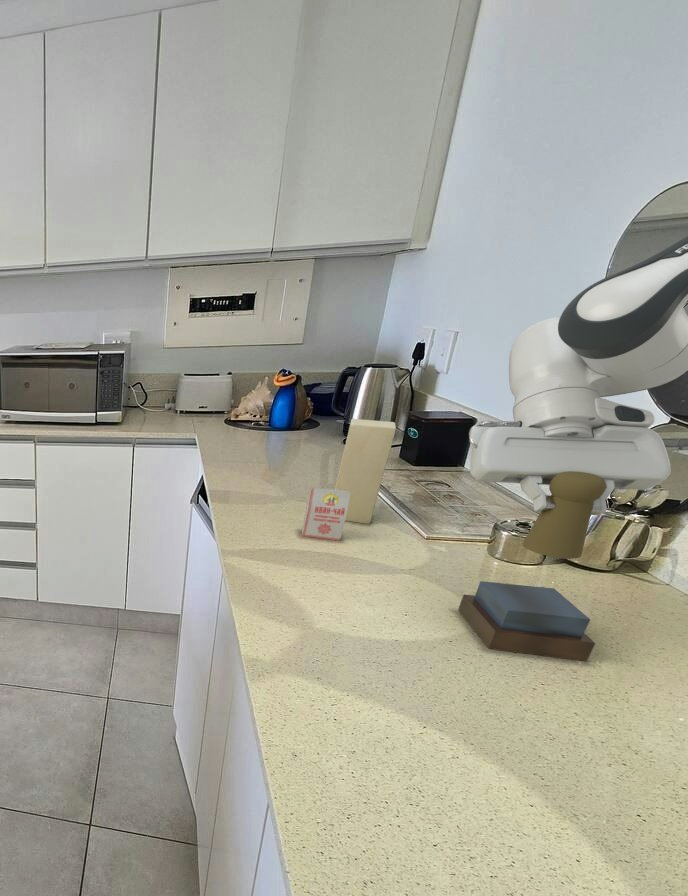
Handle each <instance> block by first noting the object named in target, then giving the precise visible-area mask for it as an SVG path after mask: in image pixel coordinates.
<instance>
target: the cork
mask: <svg viewBox="0 0 688 896" xmlns="http://www.w3.org/2000/svg"><path fill="white" fill-rule="evenodd" d="M605 489H606V482H605V480H604V479H603V478H601V477H600V476H597V475H594V474H590V473H585V472H575V471H566V472H561V473H558V474H557V475H556V476H554V477H553V479H552V480H551V482H550V485H548V490H549V492H550V494H551V495H550V496H554V503H555V508H554V509H552V510H549V511H547V512H541V511H540V513H539V515H538V516H537V518H536V519H535V521H534V523H533V525H532V526H531V528H530V529H529V531H528V533H527V534H526V536H525V538H524V539H523V541H522V543H521V545H522V547H523V548H525V549H526V550H528V551H531V552H533V553H535V554H538V555H542V556H546V557H550V558H556V559H557V558H558V559H565V560H571V559H578V558H579V559H580V558H581V557H582V555H583V550H584V547H585V542H586V538H587V533H588V528H589V525H590V521H591V516H592V515H591V512H592V507H593V503H594V501H595V500H597V499H599V498H600V497H601V496H602V494H603V493H604V491H605Z"/></svg>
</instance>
